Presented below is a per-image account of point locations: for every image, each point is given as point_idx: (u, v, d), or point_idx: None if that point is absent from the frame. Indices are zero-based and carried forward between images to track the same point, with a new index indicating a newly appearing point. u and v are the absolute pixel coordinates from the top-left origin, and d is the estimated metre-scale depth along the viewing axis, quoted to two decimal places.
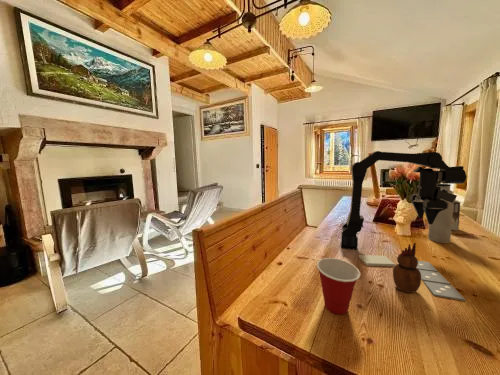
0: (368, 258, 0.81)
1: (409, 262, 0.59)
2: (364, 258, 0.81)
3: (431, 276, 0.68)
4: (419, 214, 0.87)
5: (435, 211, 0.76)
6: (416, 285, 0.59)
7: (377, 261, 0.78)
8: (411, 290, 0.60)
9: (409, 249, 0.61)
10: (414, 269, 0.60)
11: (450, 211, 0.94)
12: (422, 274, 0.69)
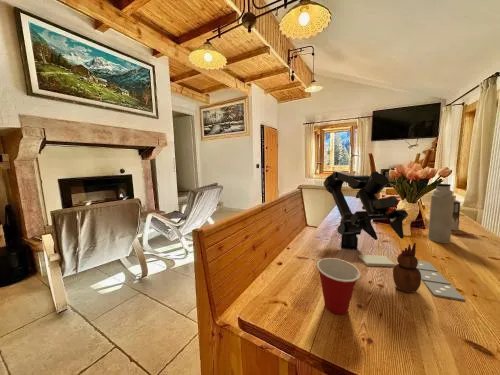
0: (368, 258, 0.81)
1: (409, 262, 0.59)
2: (364, 258, 0.81)
3: (431, 276, 0.68)
4: (398, 234, 0.70)
5: None
6: (416, 285, 0.59)
7: (377, 261, 0.78)
8: (411, 290, 0.60)
9: (409, 249, 0.61)
10: (414, 269, 0.60)
11: (450, 211, 0.94)
12: (422, 274, 0.69)
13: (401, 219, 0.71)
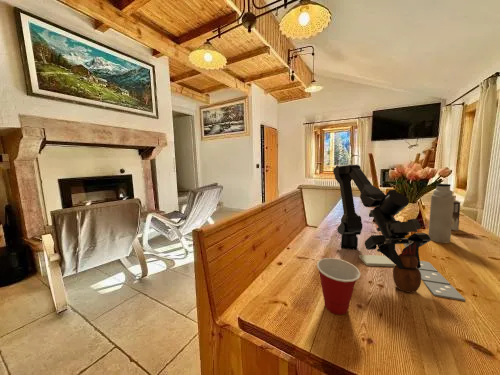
0: (368, 258, 0.81)
1: (409, 262, 0.59)
2: (364, 258, 0.81)
3: (431, 276, 0.68)
4: None
5: (390, 250, 0.63)
6: (416, 285, 0.59)
7: (377, 261, 0.78)
8: (411, 290, 0.60)
9: (409, 249, 0.61)
10: (414, 269, 0.60)
11: (450, 211, 0.94)
12: (422, 274, 0.69)
13: (417, 245, 0.62)
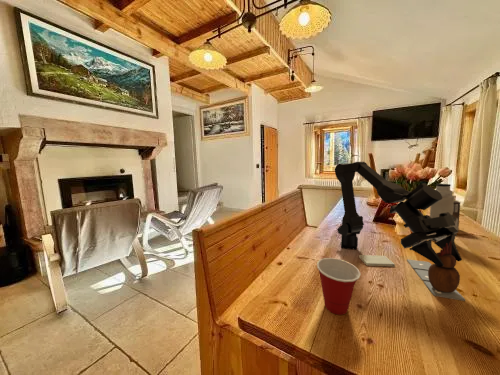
0: (368, 258, 0.81)
1: (450, 262, 0.58)
2: (364, 258, 0.81)
3: None
4: None
5: (426, 247, 0.59)
6: (457, 284, 0.58)
7: (377, 261, 0.78)
8: (452, 290, 0.58)
9: (446, 248, 0.59)
10: (453, 268, 0.59)
11: (450, 211, 0.94)
12: (422, 274, 0.69)
13: (453, 238, 0.62)
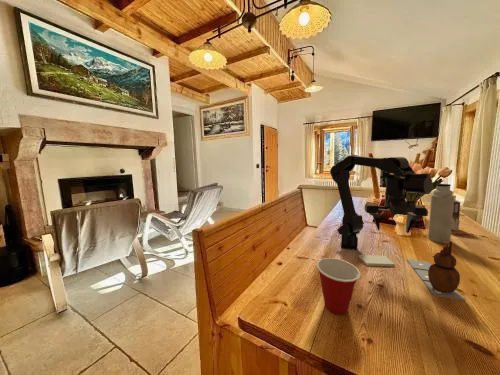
0: (368, 258, 0.81)
1: (450, 262, 0.58)
2: (364, 258, 0.81)
3: None
4: (406, 227, 0.75)
5: None
6: (457, 284, 0.58)
7: (377, 261, 0.78)
8: (452, 290, 0.58)
9: (447, 248, 0.59)
10: (453, 268, 0.59)
11: (450, 211, 0.94)
12: (422, 274, 0.69)
13: (415, 218, 0.71)
